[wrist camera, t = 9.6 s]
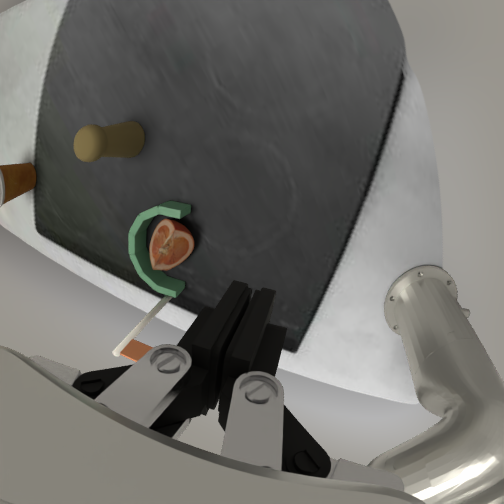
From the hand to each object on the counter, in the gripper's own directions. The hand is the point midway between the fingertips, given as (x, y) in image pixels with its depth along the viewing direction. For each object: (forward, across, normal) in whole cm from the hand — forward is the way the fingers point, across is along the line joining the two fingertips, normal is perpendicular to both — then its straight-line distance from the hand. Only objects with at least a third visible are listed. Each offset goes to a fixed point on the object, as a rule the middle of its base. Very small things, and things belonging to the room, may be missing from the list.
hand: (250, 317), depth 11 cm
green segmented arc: (+29, +19, +13) cm, 37 cm away
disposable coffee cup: (+29, +59, +4) cm, 66 cm away
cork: (+29, +28, -4) cm, 40 cm away
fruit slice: (+29, +18, +11) cm, 36 cm away
